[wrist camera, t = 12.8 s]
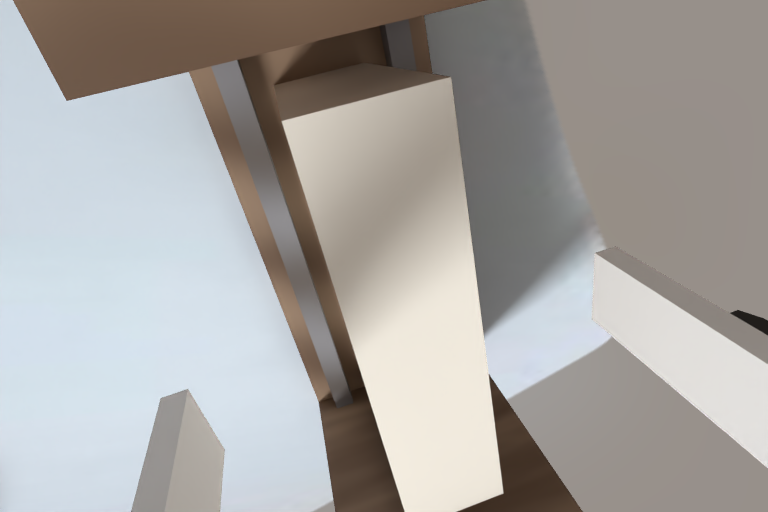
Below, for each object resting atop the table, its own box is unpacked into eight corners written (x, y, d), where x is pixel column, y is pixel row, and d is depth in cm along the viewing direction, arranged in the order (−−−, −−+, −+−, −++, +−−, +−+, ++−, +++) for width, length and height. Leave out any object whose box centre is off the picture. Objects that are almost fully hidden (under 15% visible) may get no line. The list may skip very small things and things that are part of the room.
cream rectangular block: (273, 85, 18) (281, 121, 10) (364, 62, 19) (451, 76, 10) (361, 365, 26) (410, 529, 17) (424, 344, 26) (503, 493, 18)
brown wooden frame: (177, 27, 18) (7, -10, 6) (406, -25, 19) (637, -141, 7) (322, 401, 28) (363, 657, 16) (465, 352, 29) (599, 558, 18)
